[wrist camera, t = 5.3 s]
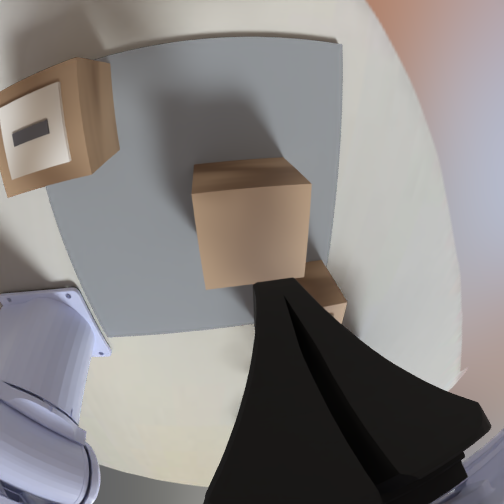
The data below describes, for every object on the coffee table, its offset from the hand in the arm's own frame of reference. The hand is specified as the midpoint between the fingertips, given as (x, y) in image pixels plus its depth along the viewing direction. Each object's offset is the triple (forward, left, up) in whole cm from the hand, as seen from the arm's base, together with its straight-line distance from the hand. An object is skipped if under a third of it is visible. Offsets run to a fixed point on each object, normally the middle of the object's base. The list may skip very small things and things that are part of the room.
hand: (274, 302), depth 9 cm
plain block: (0, 0, -9) cm, 9 cm away
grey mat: (-3, 0, -9) cm, 9 cm away
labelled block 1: (-9, +7, -9) cm, 14 cm away
